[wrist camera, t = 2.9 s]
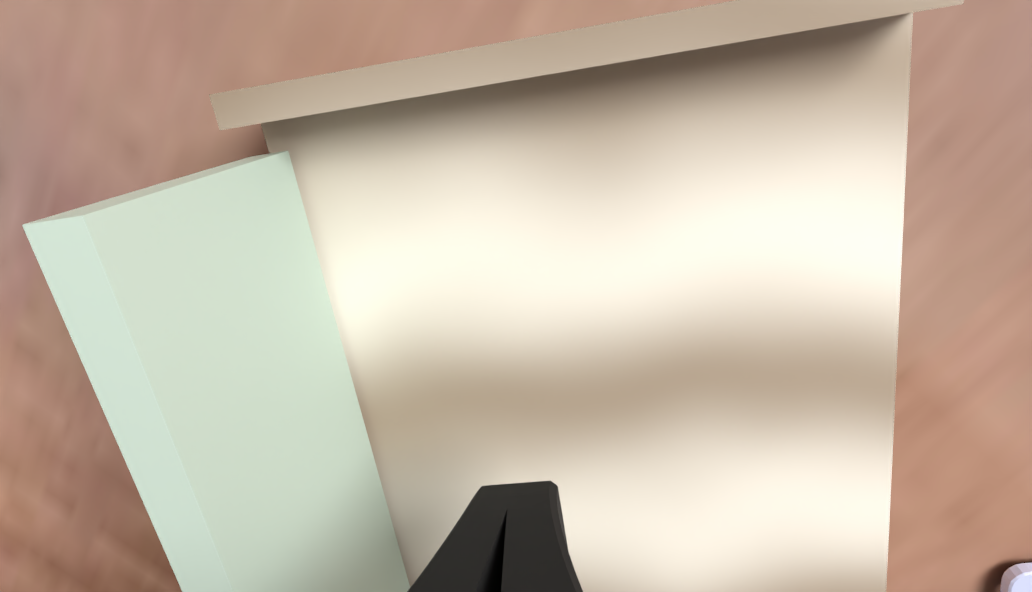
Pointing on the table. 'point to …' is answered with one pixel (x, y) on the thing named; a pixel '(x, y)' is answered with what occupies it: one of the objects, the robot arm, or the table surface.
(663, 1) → the table surface
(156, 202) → the panel
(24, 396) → the table surface
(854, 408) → the cart bed
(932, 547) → the table surface
